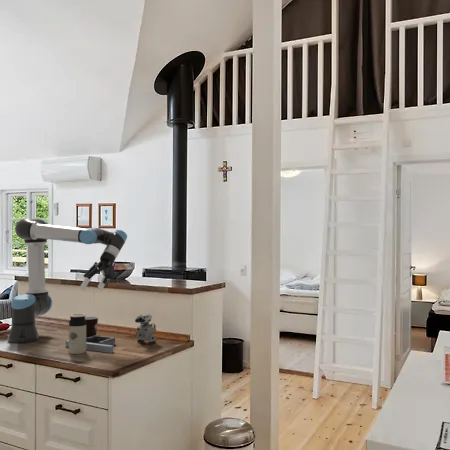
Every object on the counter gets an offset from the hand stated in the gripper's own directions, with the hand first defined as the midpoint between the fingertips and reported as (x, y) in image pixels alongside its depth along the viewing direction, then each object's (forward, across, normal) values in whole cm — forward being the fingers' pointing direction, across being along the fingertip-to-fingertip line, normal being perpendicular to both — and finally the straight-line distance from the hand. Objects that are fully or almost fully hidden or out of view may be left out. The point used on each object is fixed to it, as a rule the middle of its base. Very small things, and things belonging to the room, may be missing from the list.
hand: (90, 288), depth 253 cm
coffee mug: (+11, +20, -30) cm, 37 cm away
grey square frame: (+21, -1, -20) cm, 29 cm away
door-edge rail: (+26, -3, -14) cm, 30 cm away
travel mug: (+31, -3, -9) cm, 32 cm away
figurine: (+12, -17, -34) cm, 39 cm away
